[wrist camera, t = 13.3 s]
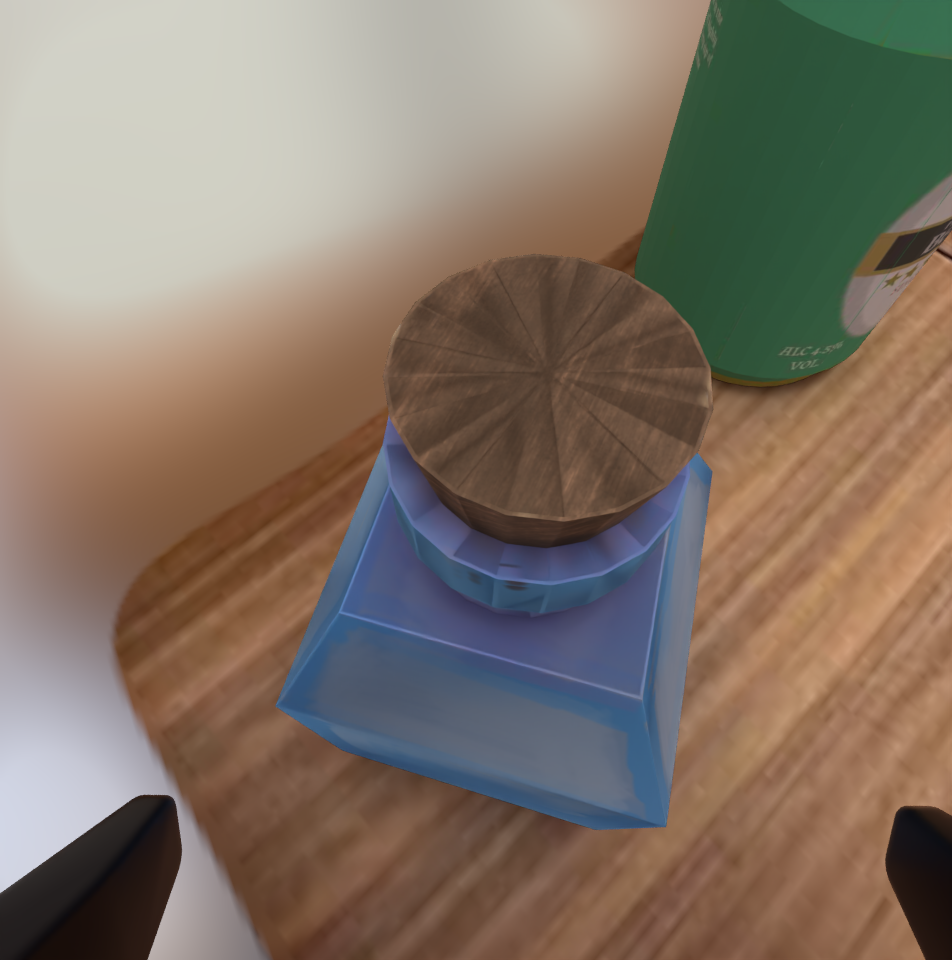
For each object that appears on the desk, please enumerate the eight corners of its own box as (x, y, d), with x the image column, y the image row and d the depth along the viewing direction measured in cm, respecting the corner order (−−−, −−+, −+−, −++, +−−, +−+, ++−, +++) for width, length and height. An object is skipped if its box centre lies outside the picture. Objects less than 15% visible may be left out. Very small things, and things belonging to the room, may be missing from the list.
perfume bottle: (422, 524, 19) (359, 122, 8) (639, 582, 18) (879, 221, 7) (342, 750, 16) (86, 582, 5) (595, 830, 15) (883, 816, 5)
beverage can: (772, 441, 21) (1083, 34, 10) (581, 303, 24) (673, -132, 13) (899, 308, 24) (1250, -122, 13) (715, 198, 26) (882, -233, 16)
